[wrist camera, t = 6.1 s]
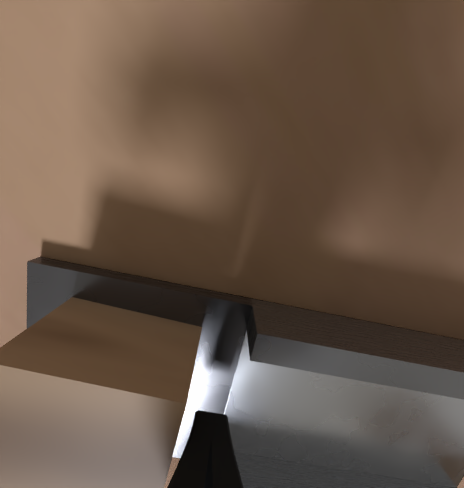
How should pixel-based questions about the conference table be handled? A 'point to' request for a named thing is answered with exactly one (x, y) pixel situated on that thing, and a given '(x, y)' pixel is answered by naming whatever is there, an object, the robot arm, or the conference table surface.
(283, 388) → the chute
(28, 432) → the walnut block
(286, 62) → the conference table surface
